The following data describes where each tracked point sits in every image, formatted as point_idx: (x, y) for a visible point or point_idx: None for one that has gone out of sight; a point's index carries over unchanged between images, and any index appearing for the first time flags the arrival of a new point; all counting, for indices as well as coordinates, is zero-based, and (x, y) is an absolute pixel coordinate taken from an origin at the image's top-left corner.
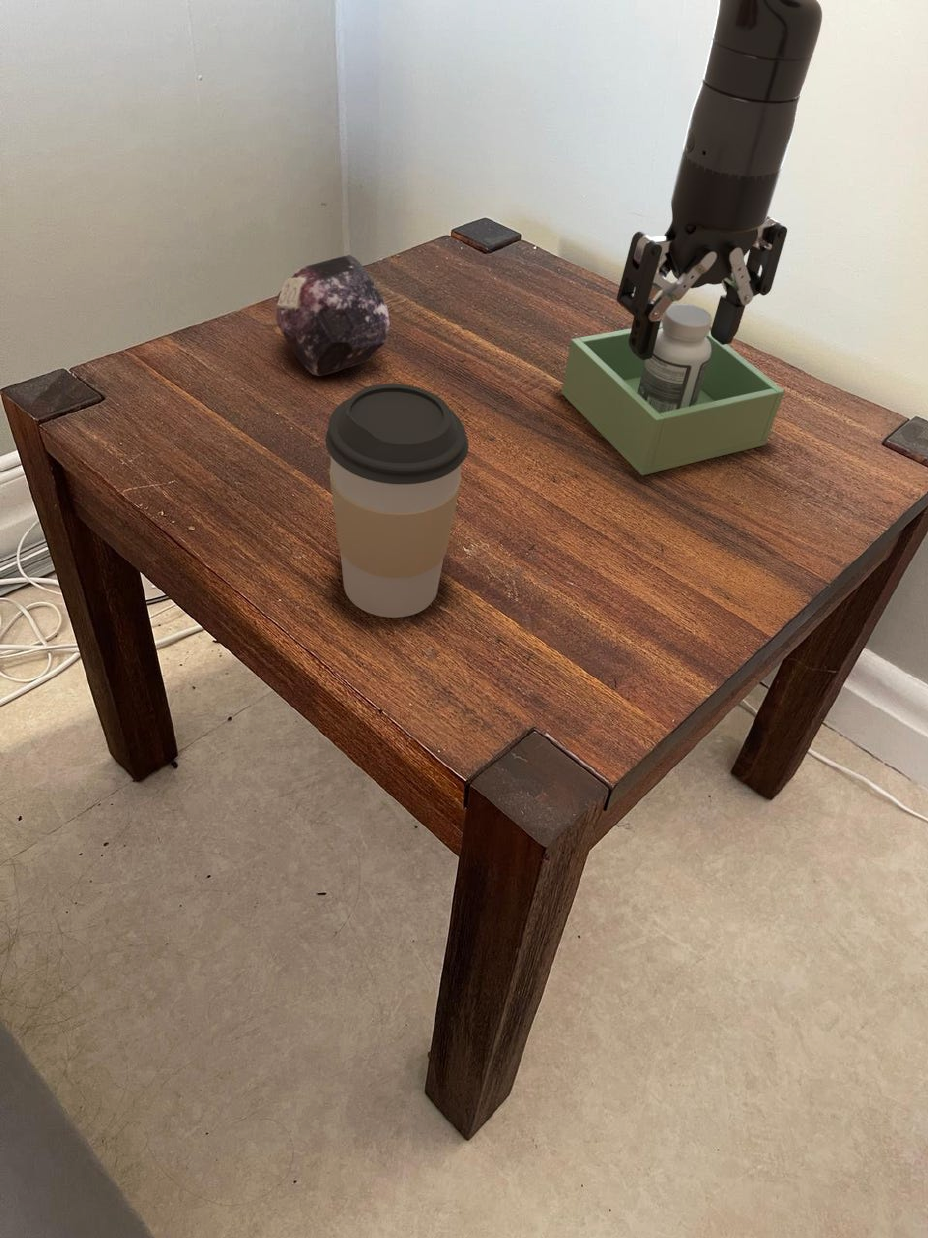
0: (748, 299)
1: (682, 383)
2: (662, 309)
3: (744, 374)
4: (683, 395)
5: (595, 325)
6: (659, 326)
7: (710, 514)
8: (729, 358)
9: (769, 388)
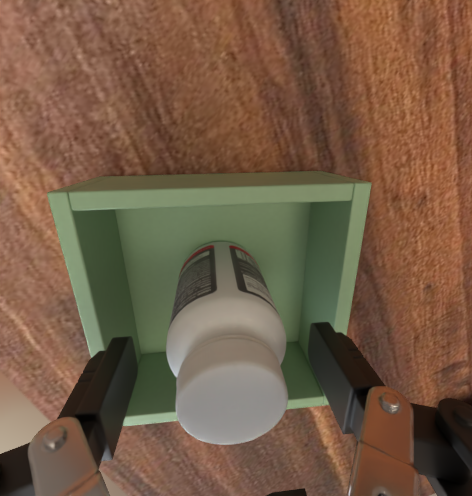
0: (54, 433)
1: (243, 274)
2: (380, 415)
3: (96, 280)
4: (232, 262)
5: (188, 439)
6: (344, 374)
7: (287, 48)
8: (103, 324)
9: (76, 216)
